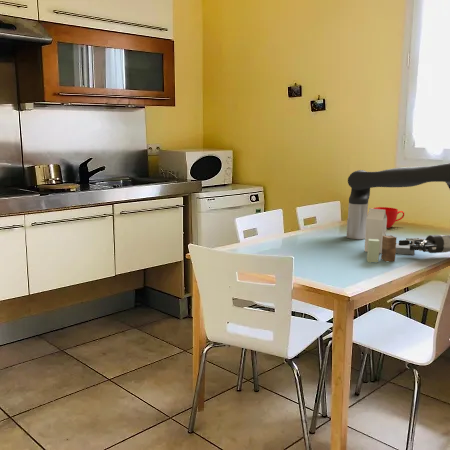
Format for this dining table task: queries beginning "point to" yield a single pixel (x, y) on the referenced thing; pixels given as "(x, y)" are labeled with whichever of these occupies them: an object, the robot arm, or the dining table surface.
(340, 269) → the dining table surface
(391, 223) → the ceramic cup
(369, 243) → the sage block
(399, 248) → the grey slab
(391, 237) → the walnut block
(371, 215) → the milk carton
